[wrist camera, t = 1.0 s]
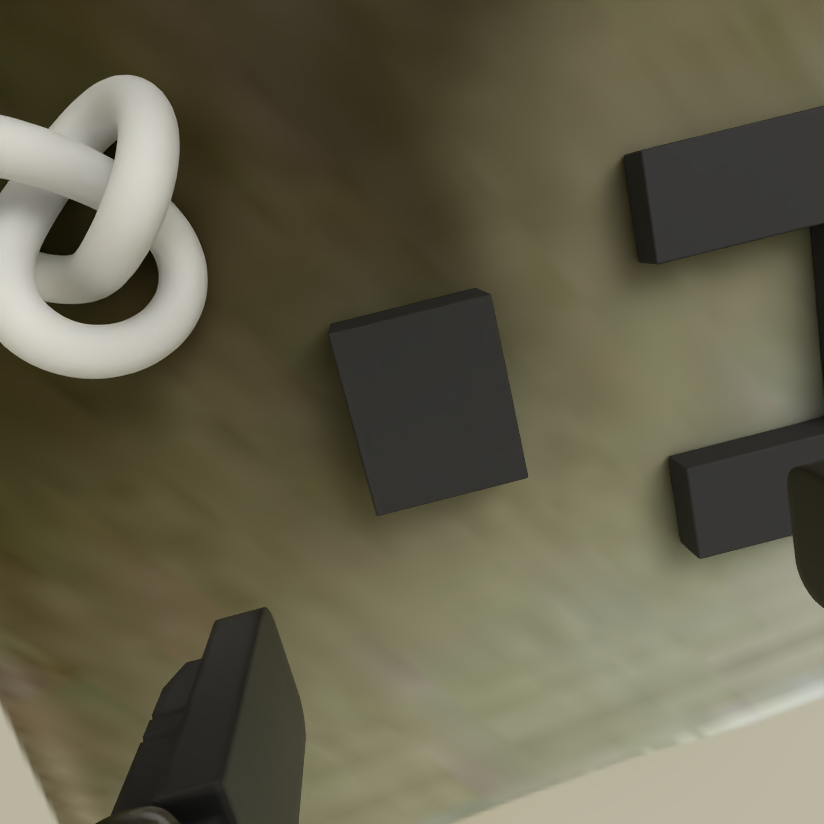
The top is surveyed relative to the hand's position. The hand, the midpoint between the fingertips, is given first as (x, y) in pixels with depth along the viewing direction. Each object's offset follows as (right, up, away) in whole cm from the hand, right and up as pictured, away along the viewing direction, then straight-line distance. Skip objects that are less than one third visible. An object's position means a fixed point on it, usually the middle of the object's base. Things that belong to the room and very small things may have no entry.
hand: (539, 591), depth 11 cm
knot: (-11, +9, +12) cm, 18 cm away
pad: (-2, +3, +14) cm, 14 cm away
